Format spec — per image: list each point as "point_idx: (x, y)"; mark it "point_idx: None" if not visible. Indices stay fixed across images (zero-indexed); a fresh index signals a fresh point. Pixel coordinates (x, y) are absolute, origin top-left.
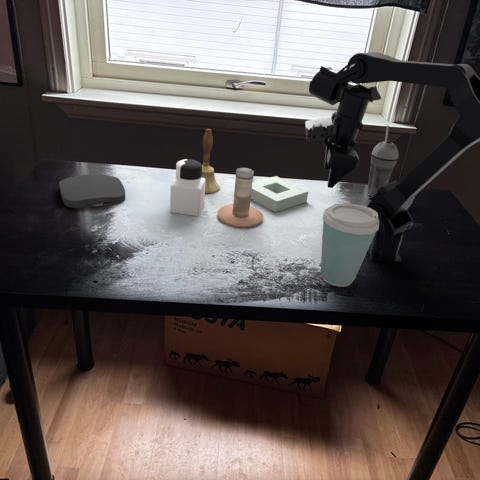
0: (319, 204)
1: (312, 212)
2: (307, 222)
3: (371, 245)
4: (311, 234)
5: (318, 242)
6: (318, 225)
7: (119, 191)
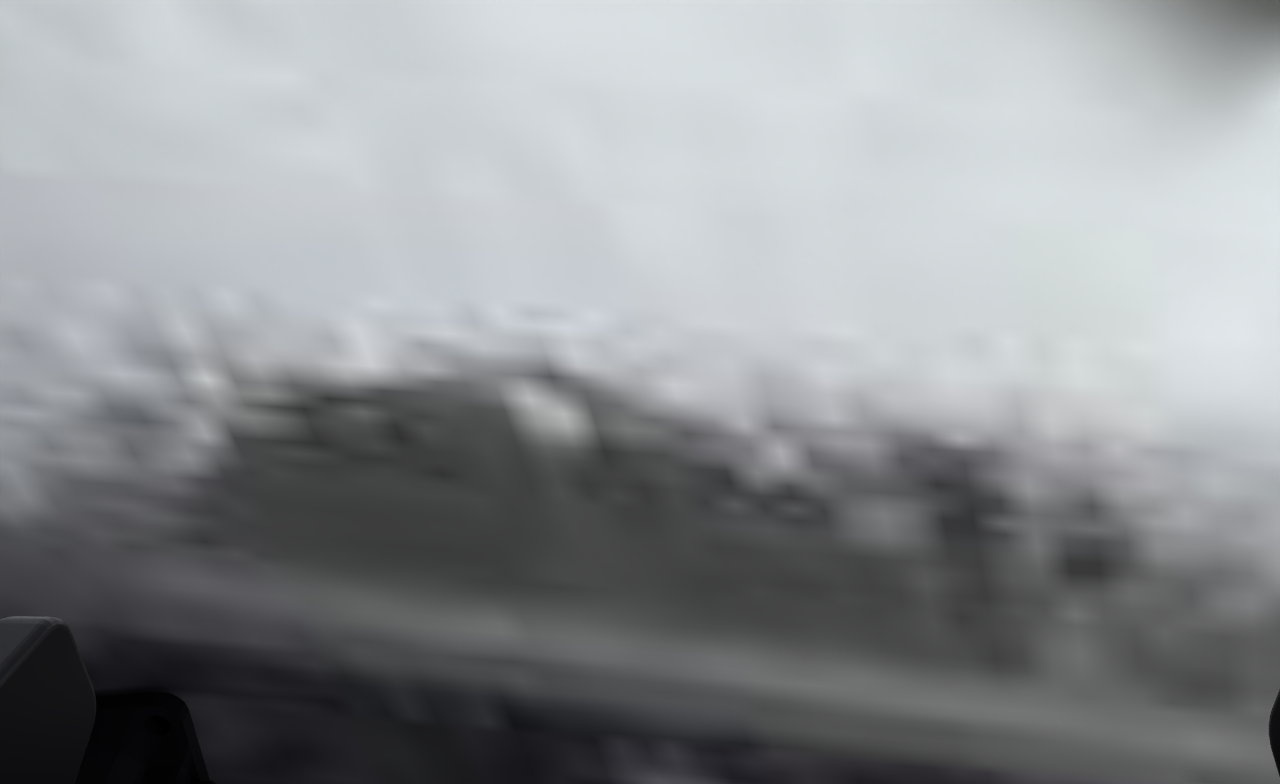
0: (1272, 232)
1: (979, 111)
2: (607, 15)
3: (161, 750)
4: (219, 61)
5: (11, 153)
6: (553, 181)
7: None
